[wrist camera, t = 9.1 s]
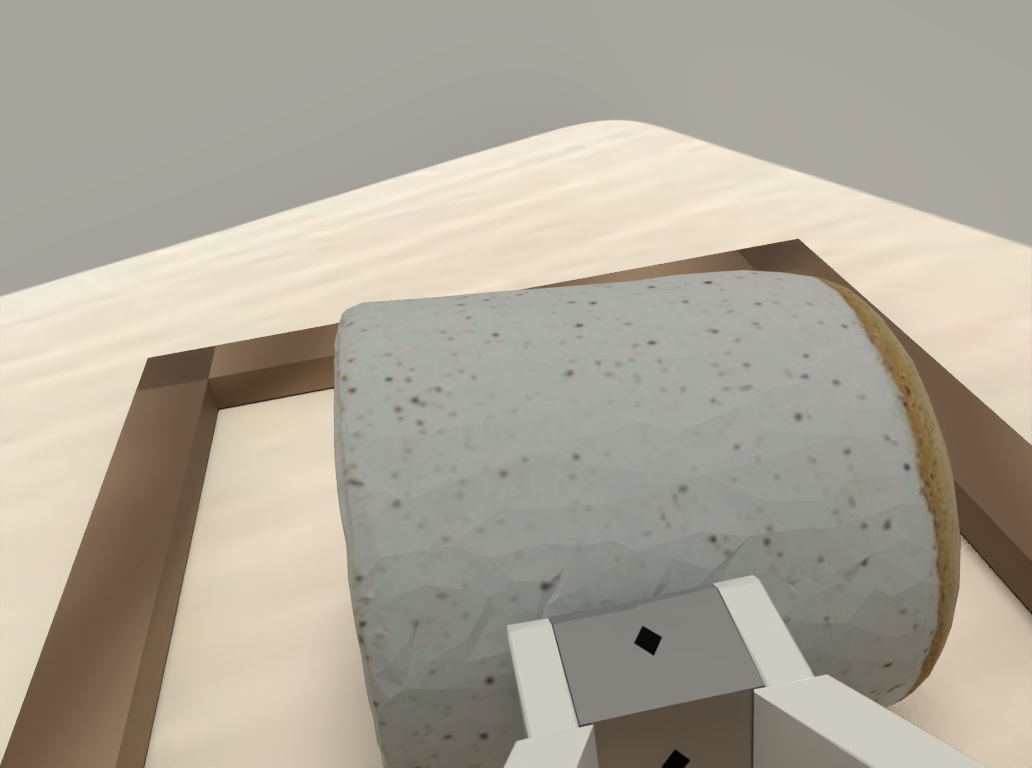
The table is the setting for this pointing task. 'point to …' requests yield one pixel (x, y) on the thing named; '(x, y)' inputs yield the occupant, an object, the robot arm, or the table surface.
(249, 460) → the table surface
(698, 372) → the ceramic mug
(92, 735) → the frame
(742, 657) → the robot arm
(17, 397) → the table surface
